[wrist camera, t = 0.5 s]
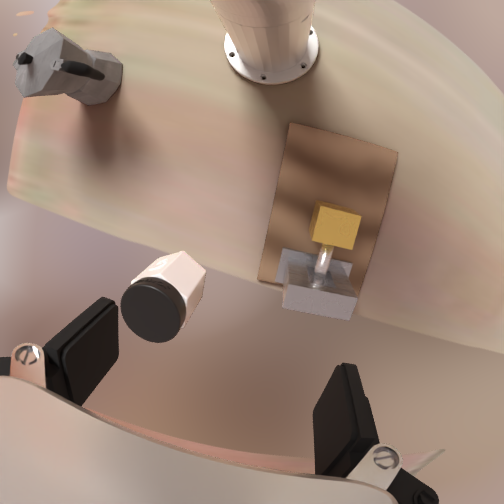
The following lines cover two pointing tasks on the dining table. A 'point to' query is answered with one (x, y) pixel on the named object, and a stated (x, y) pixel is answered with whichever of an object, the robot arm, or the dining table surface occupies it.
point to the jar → (163, 297)
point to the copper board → (327, 195)
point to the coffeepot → (66, 70)
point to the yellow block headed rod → (331, 233)
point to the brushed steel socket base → (315, 285)
